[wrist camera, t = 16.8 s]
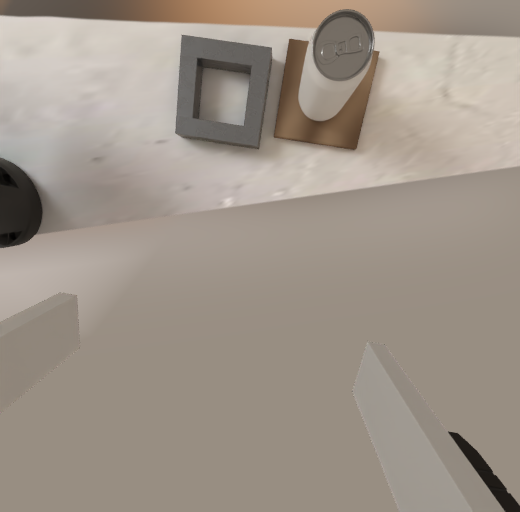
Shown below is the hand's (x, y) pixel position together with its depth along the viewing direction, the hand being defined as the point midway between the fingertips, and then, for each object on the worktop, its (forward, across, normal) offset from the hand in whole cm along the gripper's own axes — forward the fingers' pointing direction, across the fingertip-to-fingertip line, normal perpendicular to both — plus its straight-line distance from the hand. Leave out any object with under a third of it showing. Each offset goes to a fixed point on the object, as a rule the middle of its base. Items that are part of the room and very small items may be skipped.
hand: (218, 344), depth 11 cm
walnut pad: (+31, +6, +20) cm, 37 cm away
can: (+30, +6, +20) cm, 37 cm away
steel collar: (+31, -8, +18) cm, 37 cm away
